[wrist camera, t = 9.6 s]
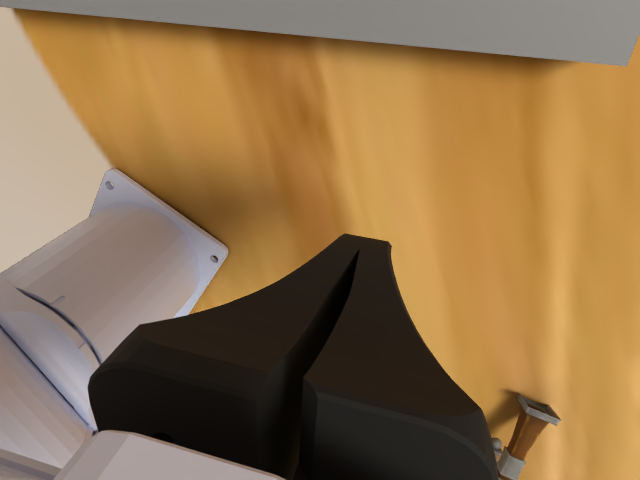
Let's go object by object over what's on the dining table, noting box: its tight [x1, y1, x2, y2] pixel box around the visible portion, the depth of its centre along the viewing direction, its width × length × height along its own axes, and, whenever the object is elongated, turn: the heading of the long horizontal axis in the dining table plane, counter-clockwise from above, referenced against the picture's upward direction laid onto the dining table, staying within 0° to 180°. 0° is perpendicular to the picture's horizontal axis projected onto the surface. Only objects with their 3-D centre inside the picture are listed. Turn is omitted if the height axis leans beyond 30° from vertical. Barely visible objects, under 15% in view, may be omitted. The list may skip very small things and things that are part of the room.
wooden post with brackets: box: [492, 393, 561, 480], centre depth 26 cm, size 2×8×4 cm, turn 163°
